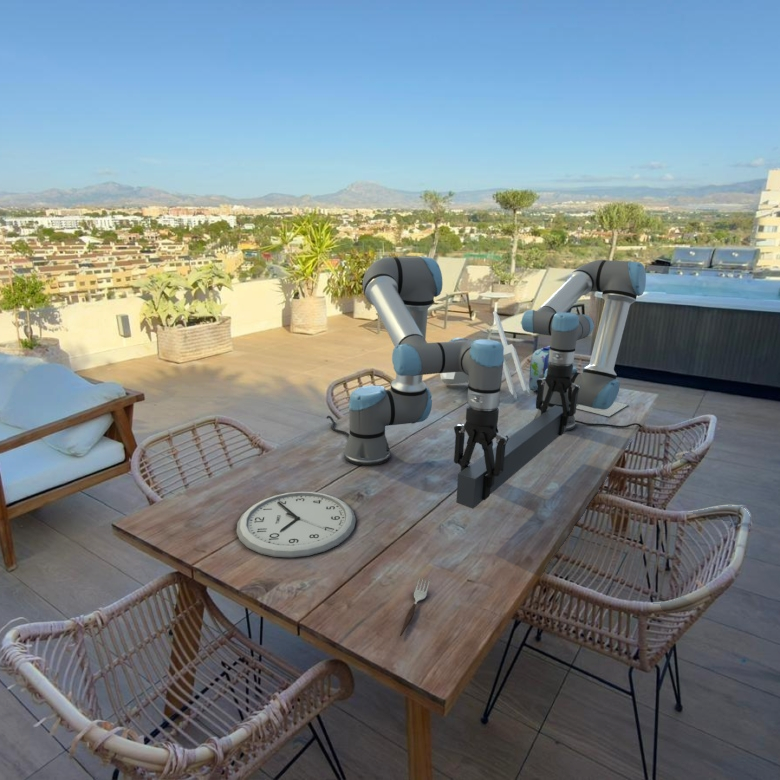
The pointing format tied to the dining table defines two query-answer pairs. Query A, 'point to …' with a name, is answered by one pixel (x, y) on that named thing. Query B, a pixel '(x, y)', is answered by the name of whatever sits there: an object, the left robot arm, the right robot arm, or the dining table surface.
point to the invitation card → (607, 412)
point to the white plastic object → (508, 355)
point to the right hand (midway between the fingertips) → (552, 432)
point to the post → (510, 456)
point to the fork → (418, 596)
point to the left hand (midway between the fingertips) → (475, 494)
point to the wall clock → (296, 524)
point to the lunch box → (538, 366)
